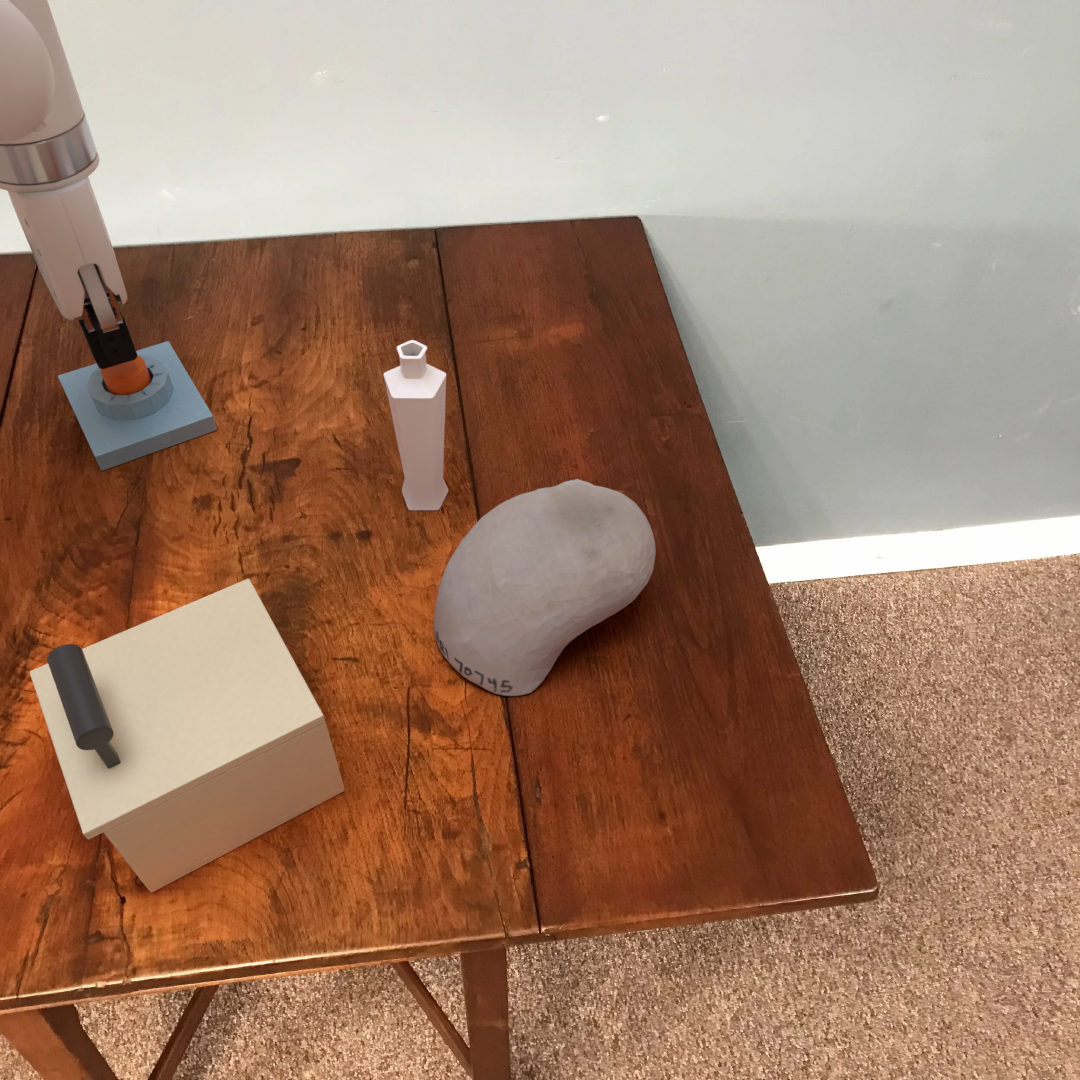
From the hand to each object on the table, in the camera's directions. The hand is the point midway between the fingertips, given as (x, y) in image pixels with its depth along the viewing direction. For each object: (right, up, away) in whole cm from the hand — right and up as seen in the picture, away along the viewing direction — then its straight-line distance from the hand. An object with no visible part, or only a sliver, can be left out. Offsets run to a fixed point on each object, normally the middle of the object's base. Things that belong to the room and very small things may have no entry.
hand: (116, 358), depth 79 cm
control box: (0, -4, +5) cm, 6 cm away
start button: (0, -2, +2) cm, 3 cm away
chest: (+15, -30, -17) cm, 38 cm away
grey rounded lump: (+36, -20, -8) cm, 42 cm away
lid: (+14, -25, -24) cm, 37 cm away
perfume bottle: (+26, -11, -1) cm, 28 cm away
